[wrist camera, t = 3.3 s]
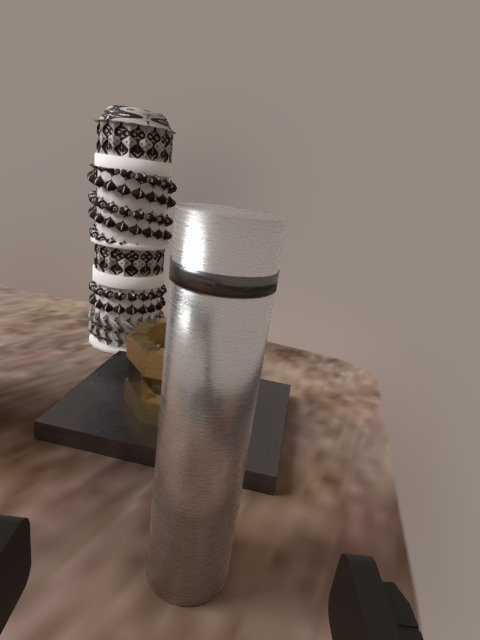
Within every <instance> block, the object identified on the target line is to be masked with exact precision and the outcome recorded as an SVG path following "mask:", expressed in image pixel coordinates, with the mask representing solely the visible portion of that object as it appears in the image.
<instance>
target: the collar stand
mask: <svg viewBox="0 0 480 640" xmlns="http://www.w3.org/2000/svg"><path fill="white" fill-rule="evenodd" d="M166 322H167V318H156V319H145V320H144V321H143V322H141V323H140V324H139V325H138V326H136V327H135V328H134V329H132V330H131V331H130V332H128V333H127V349H126V352H125V351H120V350H119V351H118V352H117V353H116V354H115V355H113V356H112V357H111V358H110V359H109V360H107V361H106V362H105V363H104V364H103V365H101V366H100V367H99V368H98V369H96V370H95V371H94V372H93V373H92V374H90V375H89V376H88V377H87V378H86V379H84V380H83V381H82V382H81V383H80V384H78V385H77V386H76V387H75V388H74V389H72V390H71V391H70V392H69V393H67V394H66V395H65V396H64V397H63V398H61V399H60V400H59V401H58V402H57V403H55V404H54V405H53V406H52V407H51V408H49V409H48V410H47V411H46V412H45V413H43V414H42V415H41V416H40V417H38V418H37V419H36V420H35V421H34V432H35V439H39V440H43V441H48V442H52V443H56V444H60V445H64V446H69V447H73V448H77V449H81V450H86V451H90V452H94V453H98V454H102V455H107V456H111V457H115V458H119V459H123V460H128V461H132V462H136V463H140V464H144V465H149V466H153V467H155V459H156V447H157V435H158V422H159V410H160V397H161V385H162V372H163V360H164V348H160V347H158V346H157V345H161V344H165V335H166ZM290 386H291V385H287V384H283V383H278V382H273V381H268V380H263V379H260V383H259V389H258V395H257V401H256V407H255V413H254V419H253V425H252V431H251V437H250V443H249V449H248V455H247V461H246V467H245V473H244V479H243V485H242V488H245V489H249V490H254V491H258V492H262V493H266V494H270V495H274V491H275V486H276V480H277V475H278V468H279V461H280V454H281V447H282V440H283V434H284V427H285V420H286V413H287V406H288V399H289V392H290Z"/></svg>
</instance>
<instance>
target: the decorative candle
mask: <svg viewBox="0 0 480 640" xmlns="http://www.w3.org/2000/svg"><path fill="white" fill-rule="evenodd" d="M94 121H96V122H97V153H95V165H94V164H91V166H92V167H93V168H94V169H95V168H96V169H95V170H92V171H91V172H89V173H88V174H87V179H88V180H89V181H90V182H92V183H93V184H95V185H96V186H97V188H96V189H95V190H93V191H92V192H90V193H89V194H88V197H89V200H90V202H91V203H93V204H94V206H93V207H90V208H89V213H88V214H89V216H90V217H91V218H93V219H94V221H96V222H97V223H95V224H94V225H93V226H92V227H91V228H90V229H89V231H90V236H91V241H92V242H94V243H95V262H94V265H93V280H92V281H90V283H89V289H90V290H92V291H93V292H94V293H93V294H91V295H90V296H89V298H90V299H89V302H90V303H91V304H93V305H94V306H92V307H91V308H90V309H89V314H88V317H89V319H90V320H91V321H90V322H89V327H88V330H89V332H90V337H89V343H90V344H91V345H92V346H93V347H94V348H96V349H98V350H101V351H103V352H107V353H112V354H116V353H117V352H118V351H119V350H120V351H125V352H126V349H127V333H128V332H130V331H131V330H132V329H134V328H135V327H136V326H138V325H139V324H140V323H141V322H143V321H144V320H145V319H156V318H165V316H164V315H163V311H162V310H161V309H162V308H163V306H164V305H165V301H164V298H163V297H162V296H163V295H164V293H166V291H167V290H166V288H165V285H164V274H165V272H164V269H163V264H164V251H165V249H166V248H168V247H169V242H168V241H167V240H168V239H170V238H171V237H172V235H171V234H170V233H169V232H168V231H167V230H165V227H166V226H169V225H171V224H172V223H173V220H172V219H171V218H170V217H168V215H166V210H167V209H168V208H171V207H173V206H175V204H176V202H175V201H174V200H173V199H172V198H171V197H170V196H168V194H169V193H170V194H171V193H173V192H175V191H176V189H177V187H176V185H175V184H174V183H173V182H172V181H170V182H169V178H171V177H172V167H173V164H171V155H172V141H173V134H175V132H173V131H172V130H171V128H170V126H169V124H168V122H167V119H166V118H165V117H164V116H163V115H162V114H160V113H157V112H154V111H150V110H145V109H140V108H134V107H127V106H117V105H115V106H109V107H107V108H106V110H105V111H104V113H103V115H102V116H101V117H100V118H99V119H97V120H94ZM94 327H95V328H94ZM157 346H158V347H159V346H160V345H157Z"/></svg>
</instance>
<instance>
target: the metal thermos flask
mask: <svg viewBox="0 0 480 640" xmlns="http://www.w3.org/2000/svg"><path fill="white" fill-rule="evenodd" d="M286 220H287V219H286V218H285V217H282V216H279V215H275V214H271V213H266V212H261V211H256V210H250V209H244V208H237V207H230V206H222V205H214V204H203V203H177V204H176V210H175V223H174V235H173V250H172V255H171V257H170V270H169V279H170V285H169V299H168V310H167V322H166V335H165V347H164V360H163V372H162V385H161V397H160V410H159V422H158V435H157V447H156V459H155V472H154V484H153V497H152V509H151V522H150V534H149V547H148V559H147V578H148V581H149V584H150V586H151V588H152V589H153V591H154V592H155V593H156V594H157V595H158V596H159V597H160V598H162V599H163V600H164V601H166V602H168V603H171V604H174V605H177V606H185V607H189V606H197V605H200V604H204V603H206V602H208V601H210V600H211V599H213V598H214V597H215V596H216V595H217V594H218V593H219V592H220V591H221V590H222V588H223V587H224V585H225V583H226V580H227V576H228V570H229V564H230V558H231V552H232V546H233V540H234V534H235V527H236V521H237V515H238V509H239V503H240V497H241V491H242V485H243V479H244V473H245V467H246V461H247V455H248V449H249V443H250V437H251V431H252V425H253V419H254V413H255V407H256V401H257V395H258V389H259V383H260V377H261V371H262V365H263V359H264V353H265V347H266V341H267V335H268V329H269V323H270V317H271V311H272V305H273V299H274V293H275V291H276V288H277V282H278V276H279V262H280V256H281V250H282V244H283V238H284V232H285V226H286Z"/></svg>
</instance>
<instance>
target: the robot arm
mask: <svg viewBox="0 0 480 640" xmlns="http://www.w3.org/2000/svg"><path fill="white" fill-rule="evenodd" d="M30 568H31V544H30V522H29V519H28V518H22V517H13V516H4V515H0V634H1V632H2V630H3V629H4V627H5V625H6V623H7V621H8V619H9V617H10V615H11V613H12V611H13V609H14V608H15V606H16V604H17V602H18V600H19V598H20V596H21V594H22V592H23V590H24V588H25V586H26V583H27V580H28V577H29V573H30ZM328 614H329V623H330V629H331V634H332V639H333V640H423V637H422V635H421V632H419V630H418V624H417V622H416V619H415V617H414V614H413V611H412V609H411V606H410V604H409V602H408V601H407V600H406V598H405V597H404V596H403V594H402V593H401V592H400V590H399V589H398V588H397V586H396V585H395V584H394V583H392V582H383V581H382V580H381V577H380V574H379V571H378V568H377V565H376V563H375V561H374V559H373V558H372V557H370V556H361V555H352V554H342V555H341V557H340V559H339V563H338V566H337V570H336V574H335V577H334V581H333V584H332V588H331V591H330V595H329V604H328Z"/></svg>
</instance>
